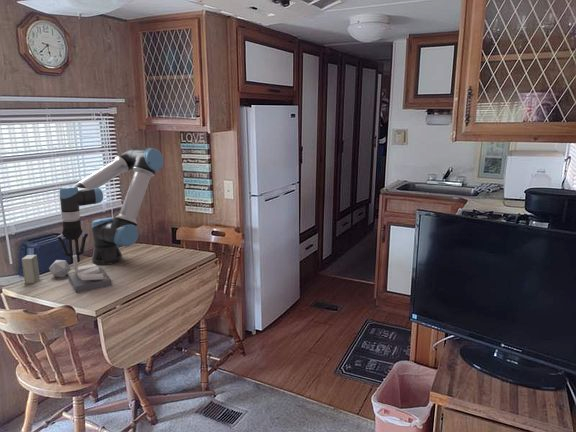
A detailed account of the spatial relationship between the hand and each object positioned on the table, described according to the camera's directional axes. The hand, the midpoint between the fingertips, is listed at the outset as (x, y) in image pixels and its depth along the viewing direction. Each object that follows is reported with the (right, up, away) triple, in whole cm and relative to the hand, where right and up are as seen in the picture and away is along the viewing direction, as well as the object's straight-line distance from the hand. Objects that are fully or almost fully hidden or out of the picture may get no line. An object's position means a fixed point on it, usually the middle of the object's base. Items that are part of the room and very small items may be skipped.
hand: (75, 269), depth 205 cm
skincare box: (-20, -6, 0) cm, 21 cm away
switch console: (+8, -6, -2) cm, 10 cm away
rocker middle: (+8, -2, -3) cm, 8 cm away
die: (-10, -4, +7) cm, 13 cm away
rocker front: (+11, -3, -9) cm, 15 cm away
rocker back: (+4, -1, +3) cm, 5 cm away
